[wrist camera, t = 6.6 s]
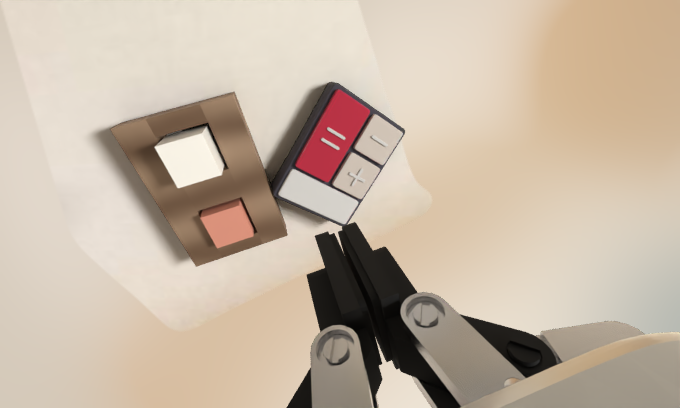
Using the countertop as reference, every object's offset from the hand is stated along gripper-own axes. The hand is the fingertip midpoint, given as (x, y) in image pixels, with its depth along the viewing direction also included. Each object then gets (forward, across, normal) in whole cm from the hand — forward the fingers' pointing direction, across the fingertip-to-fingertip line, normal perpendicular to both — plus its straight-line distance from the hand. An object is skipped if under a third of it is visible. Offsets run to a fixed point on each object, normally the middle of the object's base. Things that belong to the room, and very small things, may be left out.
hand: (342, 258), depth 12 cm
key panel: (+27, +10, +4) cm, 29 cm away
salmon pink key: (+27, +10, +9) cm, 30 cm away
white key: (+26, +10, 0) cm, 27 cm away
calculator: (+28, -5, +6) cm, 29 cm away
